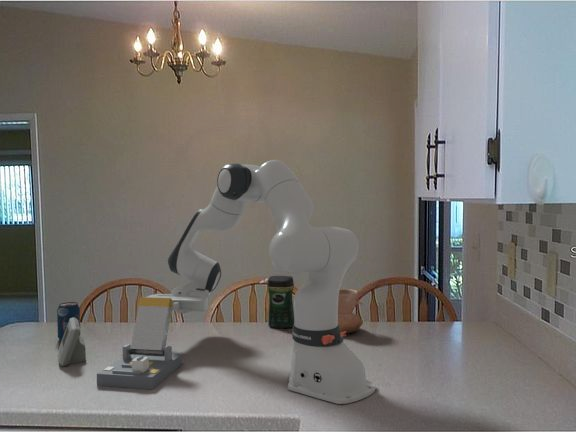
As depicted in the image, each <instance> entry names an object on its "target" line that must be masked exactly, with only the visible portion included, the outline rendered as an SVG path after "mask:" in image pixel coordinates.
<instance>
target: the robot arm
mask: <svg viewBox="0 0 576 432" xmlns="http://www.w3.org/2000/svg"><path fill="white" fill-rule="evenodd" d="M216 181H217V182H216V183H217V184H216V185H217V186H216V187H215V189H214V192H213V194H212V197H211V199H210V202H209V204H208V205H207V206H206V207H205V208H204V207H203V208H200V209H198V210H197V211H196V212H195V213H194V215H193V216H192V218H191V220H190V221H189V223H188V224H187V226H186V228H185V229H184V232H183V233H182V234H181V237H180V238H179V241H178V243H177V244H176V246H175V247H174V248H173V250H172V251H171V253H170V254H169V257H168V259H167V264H168V268H169V270H170V272H172V273H174V274H177V275H179V276H182V277H184V278H186V280H189V281H187V282H186V283H183V284H181V285H178V286H176V287H175V288H173V289H172V291H171V292H170V293H155V294H150V295H148V296H146V297H149V298H171V299H172V300H174V302H173V308H172V311H175V312H176V313H178V314H186V313H191V312H198V313H200V312H201V313H203V312H206V311H208V310H209V309H210V295H211V293H212V292H213V291H215V289H216V287H217V286H218V284H219V283H220V280H221V277H222V268H221V265H220V263H219V262H218V261H216V260H214V259H212V258H211V257H209V256H206V255H204V254H203V253H200V252H199V251H198V250H197V251H196V250H195V249H194V247H193V244H194V243H195V241H196V239H197V237H198V236H199V234H200V232H201V231H212V232H227V231H231V230H233V229H234V228H236V227H237V226H238V225H239V223H240V221H241V219H242V217H243V215H244V212H245V209H246V207H247V203H248V202H249V203H257V204H258V203H265V204H266V206H267V208H268V211H269V212H270V214H271V216H272V218H273V220H274V222H275V226H276V233H275V234H274V235H273V237H272V238H271V240H270V242H269V246H268V256H269V260H270V262H271V264H272V265H273V267H274V268H275V269H276V270H277V271H279V272H282V273H288V274H303V273H308V275H307V278H306V280H305V281H304V283H303V284H302V285H301V286H300V288H298V289H297V290H296V292H295V294H294V297H293V310H294V325H293V327H292V331H291V332H292V340H293V349H292V354H291V355H292V356H291V364H290V372H289V376H288V384H287V390H289V391H291V392H294V393H298V394H302V395H305V396H309V397H313V398H315V399H319V400H323V401H327V402H330V403H333V404H337V405H345V404H351V403H353V402H354V403H355V402H359V401H361V400H363V399H365V398H367V397H370V396H371V395H372V394H374V392H375V391H376V389H377V387H376V383H375V382H372V381H370V380H368V379H367V375H366V368H365V365H364V363H363V362H362V360H361V359H360V358H359V357H358V356H357V355H356V354H355V353H354V352H353V350H351V349H350V347H349V346H348V345H347V344H346V342H345V341H344V337H345V336H347V334H345V333H346V331H344V332H341V329H340V327H339V325H338V296H339V291H340V289H341V286H342V283H343V280H344V277H345V275H346V272H347V271H348V269H349V267H350V266H351V265H352V263H354V262H355V261H356V259H357V257H358V255H359V251H360V245H359V240H358V238H357V236H356V234H355V233H354V232H353V231H352V230H351V229H347V228H343V227H340V226H319V227H316V226H312V225H311V224H310V222H309V220H310V219H311V217H312V215H313V211H314V204H313V201H312V200H311V198H310V197H309V195H308V193H307V191H306V190H305V188H304V187H303V184H302V183H301V181H300V180H299V178H297V176H296V174H295V173H294V172H293V171H292V169H290V168H289V166H288V165H286V163H285V162H283V161H282V160H278V159H271V160H267V161H265V162H264V163H262V164H261V166H259V165H256V164H246V163H243V164H240V163H229V164H225V165H224V166H222V168H221V169H220V171H219V172H218V175H217V180H216Z"/></svg>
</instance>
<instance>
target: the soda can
mask: <svg viewBox="0 0 576 432" xmlns="http://www.w3.org/2000/svg"><path fill="white" fill-rule="evenodd" d="M80 309H81V308H80V306H79V302H77V301H68V302H61V303H59V304H58V307H57V310H56V313H57V314H56V319H57V338H58V339H59V341H60V342H61V341H62V338H63V336H64V333H65V330H66V328H67V325H68V322H69V320H70V318H73V317H74V318H76V319H77V320H78V321H79V326H80V327H81V310H80ZM79 336H80V337H81V333H80V334H79Z"/></svg>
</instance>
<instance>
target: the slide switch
mask: <svg viewBox="0 0 576 432" xmlns="http://www.w3.org/2000/svg"><path fill="white" fill-rule="evenodd" d="M148 369H149V357H144V355H141V356H140V357H136V358H135V359H133V360H132V371H140V372H142V373H144V372H145V371H146V370H148Z"/></svg>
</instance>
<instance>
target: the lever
mask: <svg viewBox="0 0 576 432" xmlns="http://www.w3.org/2000/svg"><path fill="white" fill-rule="evenodd" d="M173 302H174V300H172V299H171V298H149V297H147V296H144V297H141V296H140V297H139V301H138V303H137V305H138V307H137V312H136V317H135V323H134V329H133V333H132V339H131V343H130V344H131V348H130V349H129V354H130V355H148V356H165V354H164V349H165V348H166V347H167V341H168V334H169V327H170V321H171V317H172V316H171V315H172V311H173V310H172V308H173Z"/></svg>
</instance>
